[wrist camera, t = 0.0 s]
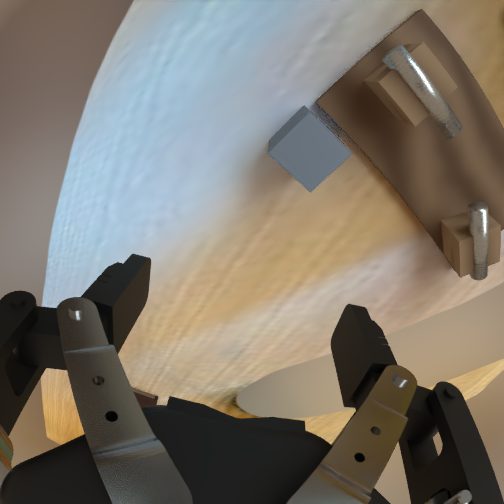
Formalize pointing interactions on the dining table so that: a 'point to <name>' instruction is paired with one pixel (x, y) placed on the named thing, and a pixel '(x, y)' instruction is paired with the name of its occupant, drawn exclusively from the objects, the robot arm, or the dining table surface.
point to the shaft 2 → (479, 237)
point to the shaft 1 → (424, 91)
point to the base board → (427, 138)
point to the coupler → (307, 149)
